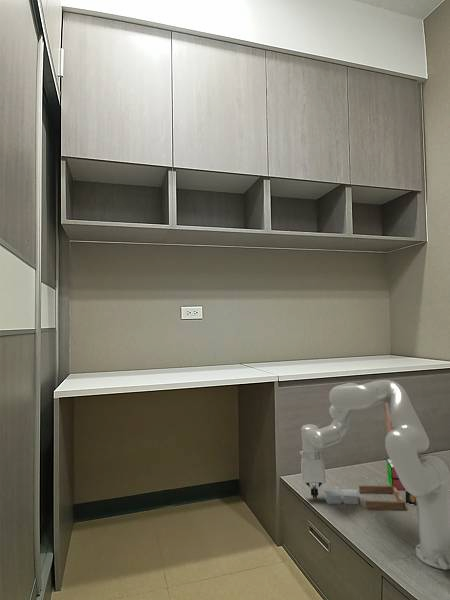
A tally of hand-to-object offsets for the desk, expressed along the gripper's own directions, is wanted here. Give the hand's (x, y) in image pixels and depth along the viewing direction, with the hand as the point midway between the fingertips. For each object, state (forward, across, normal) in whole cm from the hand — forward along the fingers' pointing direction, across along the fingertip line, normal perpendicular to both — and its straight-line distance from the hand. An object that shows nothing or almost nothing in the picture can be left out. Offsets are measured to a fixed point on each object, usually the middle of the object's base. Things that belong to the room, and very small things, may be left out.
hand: (314, 496), depth 164 cm
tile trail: (+2, +8, 0) cm, 8 cm away
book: (+2, +46, +35) cm, 58 cm away
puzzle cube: (+2, +40, +15) cm, 43 cm away
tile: (+2, +15, 0) cm, 15 cm away
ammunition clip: (+2, +42, -3) cm, 42 cm away
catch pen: (+1, +28, 0) cm, 28 cm away
